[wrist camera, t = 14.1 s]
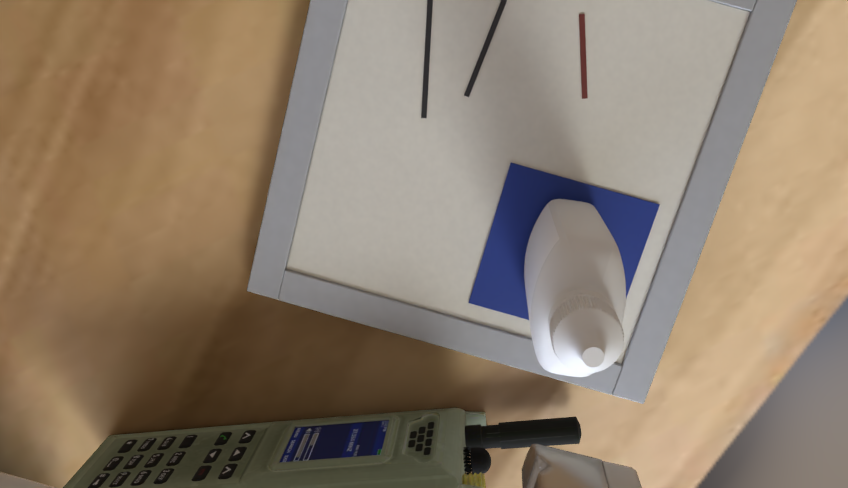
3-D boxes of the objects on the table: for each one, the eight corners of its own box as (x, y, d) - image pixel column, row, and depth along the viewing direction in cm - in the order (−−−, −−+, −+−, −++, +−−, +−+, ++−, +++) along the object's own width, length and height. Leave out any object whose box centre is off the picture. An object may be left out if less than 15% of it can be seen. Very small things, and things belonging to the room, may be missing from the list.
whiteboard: (346, -138, 34) (341, -145, 33) (792, -15, 34) (804, -17, 33) (253, 283, 40) (246, 291, 38) (638, 392, 39) (643, 404, 38)
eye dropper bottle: (487, 275, 37) (484, 381, 26) (562, 181, 36) (596, 248, 24) (560, 328, 38) (590, 458, 26) (638, 237, 36) (706, 331, 25)
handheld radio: (104, 424, 42) (574, 385, 39) (119, 478, 43) (580, 443, 40) (35, 499, 36) (591, 459, 33) (54, 559, 37) (596, 525, 34)
